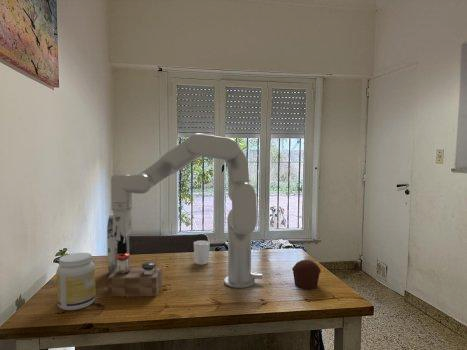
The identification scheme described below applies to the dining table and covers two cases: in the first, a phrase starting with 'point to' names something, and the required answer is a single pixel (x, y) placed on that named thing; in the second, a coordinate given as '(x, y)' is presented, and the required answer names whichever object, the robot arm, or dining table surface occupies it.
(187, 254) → the dining table surface
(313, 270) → the muffin
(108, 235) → the juice carton
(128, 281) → the wooden slotted frame
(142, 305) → the dining table surface
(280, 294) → the dining table surface
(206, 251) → the white cup
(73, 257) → the supplement tub
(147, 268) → the grey capped peg
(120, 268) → the red plug
